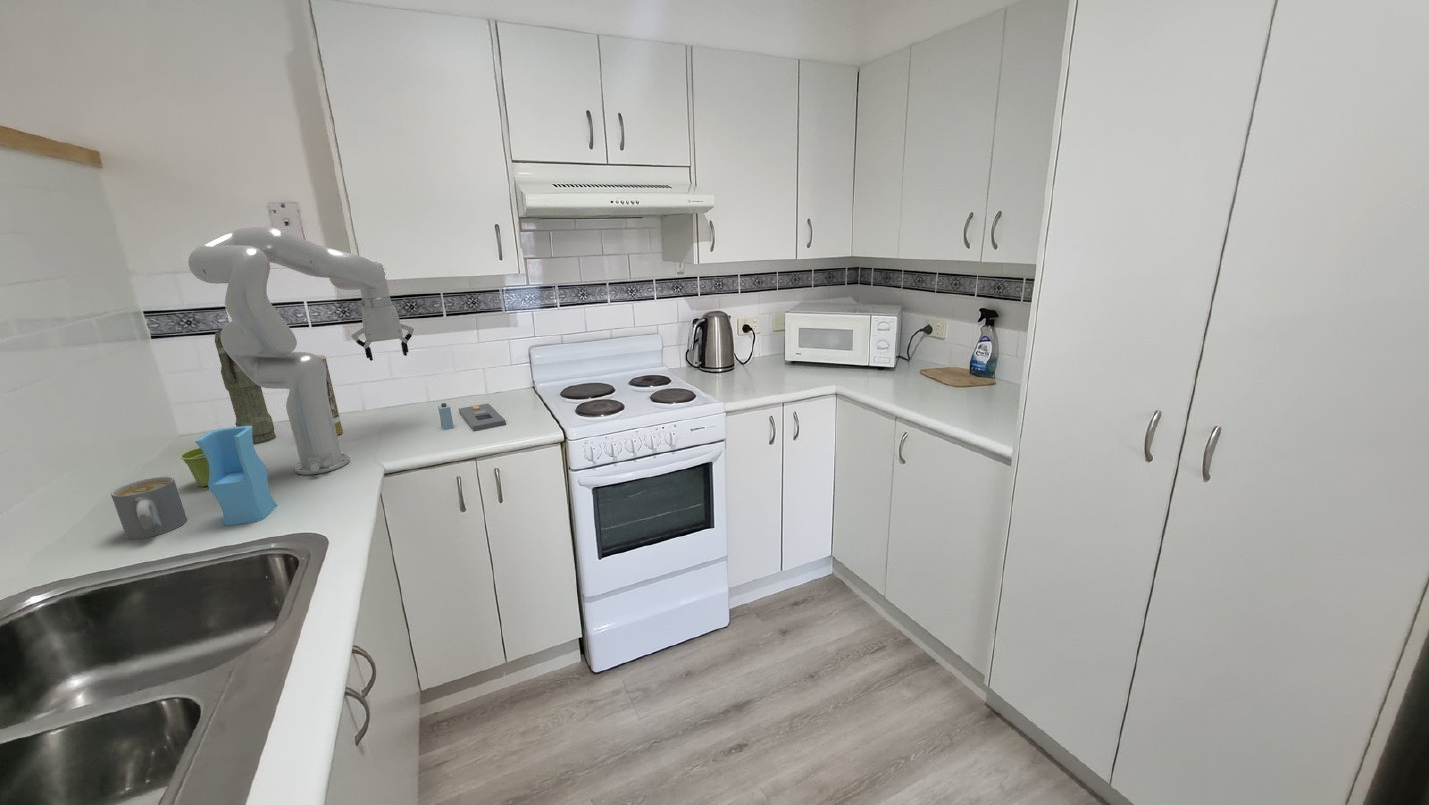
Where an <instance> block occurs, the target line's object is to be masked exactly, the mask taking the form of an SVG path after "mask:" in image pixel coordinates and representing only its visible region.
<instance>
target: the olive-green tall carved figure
mask: <svg viewBox="0 0 1429 805" xmlns="http://www.w3.org/2000/svg"><path fill="white" fill-rule="evenodd" d="M222 329H223V328H220V329H218V330H217V331H215V333H214V344H215V347H216V351H217V355H218V358H219V361H220V365H221V369H220V374H221V377H222V380H223V384H224V388H225V390H226V391H227V393H228V394H229V398H230V401H231V405H232V408H233V412H234V415H235V427H241V426H252V439H253V445H259V444H264V443H267V442H270V441H272V440H275V439H276V437H277V436H276V433H275V425H274V422H273V418H272V416H271V414H270V413H269V411H268V408H267V404H266V400H265V396H264V393H263V389H262V387H261V386H259V385H257V384H255V383H254V382H253V381H252V380H251V379H250V378H249V377H248V376H247V375H246V374H245V373H244V372H243V371H242V369H241V368H240V367H239V366H238V365H237V364H236V363H235V362H234V361H233V360H232V359H231V357H230V356H229V355H228V354H227V353H226V351H225V350H224V348H223V346H222V343H221V331H222Z"/></svg>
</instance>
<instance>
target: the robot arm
mask: <svg viewBox="0 0 1429 805" xmlns="http://www.w3.org/2000/svg"><path fill="white" fill-rule="evenodd" d="M378 262H379V261H372V260H369V259H367V258H366V257H363V256H361V255H357V254H354V253H351V252H346V251H343V250H342V251H341V250H339V249H335V248H332V247H331V248H330V247H326V246H322V245H319V244H317V243H315V242H312V241H309V240H307V239H305V238H302V237H301V236H299V235H296V234H293V233H292V232H289V231H287V230H284V229H281V228H278V227H275V226H258V227H255V226H254V227H241V228H237V229H234V230H231V231H229V232H227V233H225V234H222V235H221V236H219V237H217V238H215V239H212V240H210V241H208V242H206V243H203V244H202V245H199V246H197V247H196V248H195V249H193V250H192V252H191V253H190V254H189V257H188V262H187V263H188V268H189V270H190V272H191V273H192V274H193V276H194V277H195V278H197V279H198V280H199V281H202V282H205V283H207V284H208V283H209V284H227V289H226V291H225V292H226V293H225V296H224V306H225V310H226V312H227V313H228V315H229V317H230V319H232V320H231V321H229V322H226V324H225V325H224V326H223V327H222V328H221V329H222V331H221V343H222V346H223V348H224V350H225V351H226V353H227V354H228V355H229V356H230V357H231V359H232V360H233V361H234V362H235V363H236V364H237V365H238V366H239V367H240V368H241V369H242V371H243V372H244V373H245V374H246V375H247V376H248V377H249V378H250V379H251V380H252V381H253V382H254V383H255V384H257V385H259V386H261V388H263V389H276V390H277V389H278V390H279V389H281V390H284V389H286V390H289V391H288V395H287V399H286V403H285V408H286V409H285V410H286V413H287V417H288V420H289V424H290V428H291V431H292V436H293V439H294V443H295V444H294V445H295V447H296V451H297V454H298V459H299V462H298V463H297V464H295V466H294V470H295V473H296V474H299V475H303V476H304V475H306V476H308V475H309V476H310V475H317V474H323V473H327V472H332V471H335V470H337V469H339V468H342V467H344V466H346V465H348V464H349V462H350V456H349V455H348V454H346V453H342V450H341V449H342V448H341V446H340V442H339V438H338V435H337V433H336V428H335V424H334V420H333V416H332V411H331V408H330V403H329V399H328V394H327V384H326V366H325V364H324V362H323V360H322V359H321V358H319V357H318V355H317V354H314V353H310V352H305V351H304V352H303V351H295V350H296V348H297V345H298V342H297V341H298V340H297V338H296V335H295V333H294V332H293V330H292V329H291V328H290V327H289V326H288V324H287V322H286V321H285V320H284V319H283V318H282V316H281V314H280V313H279V312H278V311H277V310H276V309H275V307H274V306H273V304H272V303H271V301H270V299H269V297H268V294H267V286H268V280H269V277H270V273H271V265H270V263H273V264H276V265H278V266H282V267H285V268H287V269H289V270H293V271H295V272H298V273H301V274H302V275H303V274H304V275H306V276H310V277H316V278H326V279H329V281H330V283H331V284H332V285H333V286H334V287H335V288H337V289H340V290H346V291H354V290H355V291H356V290H359V291H360V295H361V300H358V301H356V302H357V306H359V307H360V306H362V307H363V308H361V318H362V319H361V320H362V328H361V329H360V328H359V330H357V331H355V332H354V333H352V334H351V338H352V339H353V340H354V341H355V343H357V344H358V345H359V346H361V347H362V348H364V351H365V356H366V359H369V361H370V362H371V361H373V360H374V358H373V354H372V349H371V347H370V345H371V344H372V342H373V343H374V342H382V341H391V340H392V341H393V340H398V339H399V340H400V341H401V343H400V345H401V349H402V350H401V351H402V355H403V356H406V357H407V356H408V353H409V346H408V342H409V341H410V339H411V338H412V336H413V333H414V330H415V329H414V327H412V326H408V325H405V324H403V323H401V320H400V318H399V314H398V312H397V309H396V307H395V305H392V299H391V297H390V291H389V290H390V289H389V285H388V280H387V278H386V279H385V275H386V271H385V272H384V270H385V267H384V268H383V266H384V265H382V264H381V263H382V262H380V263H378ZM403 330H406V331H407V334H405V336H403V334H404V333H403ZM362 334H363V335H364V337H365V341H363V340H360V338H359V337H360V336H361V335H362Z"/></svg>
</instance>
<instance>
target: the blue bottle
mask: <svg viewBox="0 0 1429 805" xmlns="http://www.w3.org/2000/svg"><path fill="white" fill-rule="evenodd" d="M437 408H438V414H439V415H438V416H439V420H440V424H441V425H440V426H441V428H442V429H443V430H444V431H445V430H451V429H454V428H455V426H454V422H453V416H452V410H451V406H450V405H449V404H448V403H446V402H442V403H441V404H440V405H437Z"/></svg>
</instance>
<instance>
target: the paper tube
mask: <svg viewBox="0 0 1429 805" xmlns="http://www.w3.org/2000/svg"><path fill="white" fill-rule="evenodd" d="M317 356H318V357H319V358H321V359H322V360H323V362H324V364H325V366H326V384H327V394H328V399H329V403H330V408H331V411H332V416H333V420H334V424H335V428H336V433H337V436H340V435H342V433H343V427H342V426H343V425H342V422H341V418H340V414H339V408H338V405H337V400H336V396H335V395H336V394H335V392H334V387H333V383H332V378H331V373H330V371H329V370H330V369H329V367H328V366H329V365H328V362H327V358H326V355H322V354H321V355H318V354H317Z"/></svg>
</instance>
